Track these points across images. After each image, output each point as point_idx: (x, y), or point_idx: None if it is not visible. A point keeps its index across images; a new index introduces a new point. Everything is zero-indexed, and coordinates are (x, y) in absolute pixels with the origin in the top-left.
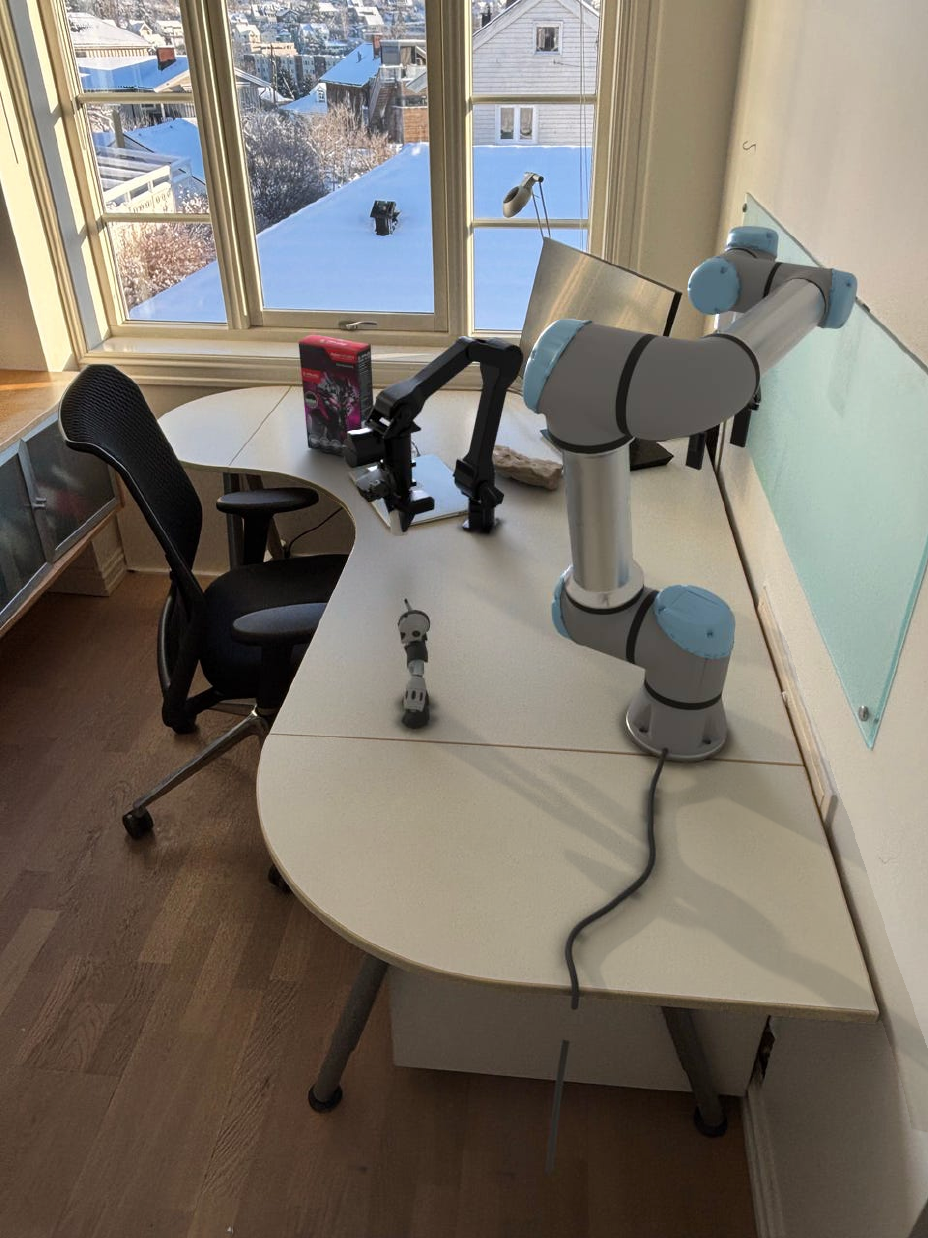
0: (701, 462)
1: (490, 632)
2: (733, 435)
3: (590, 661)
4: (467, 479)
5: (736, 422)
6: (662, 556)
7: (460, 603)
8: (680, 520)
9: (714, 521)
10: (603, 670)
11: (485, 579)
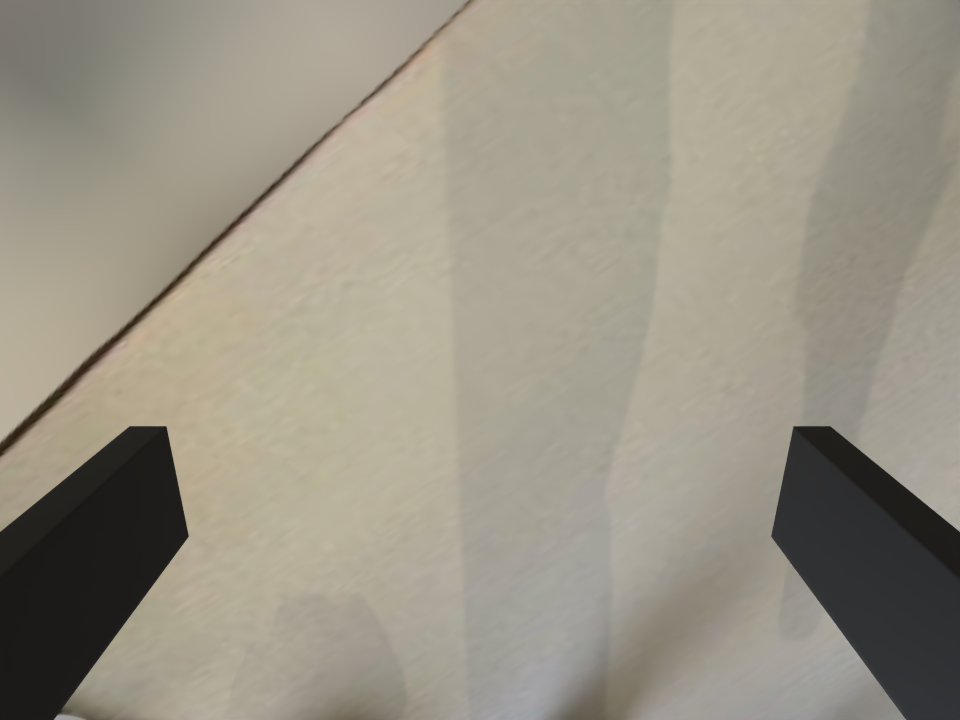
0: (846, 457)
1: (932, 486)
2: (145, 566)
3: (911, 258)
4: None
5: (58, 667)
6: (353, 426)
7: None
8: None
9: (79, 439)
10: (929, 210)
11: (748, 621)
